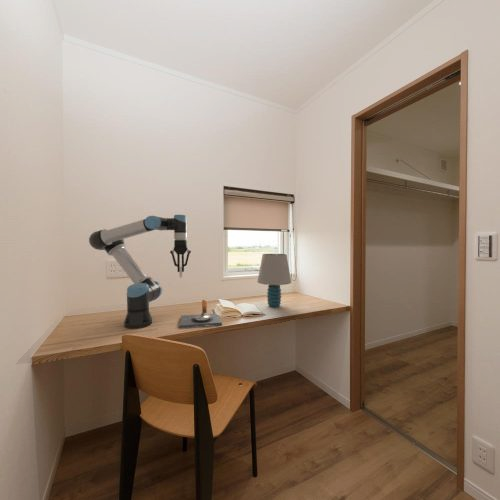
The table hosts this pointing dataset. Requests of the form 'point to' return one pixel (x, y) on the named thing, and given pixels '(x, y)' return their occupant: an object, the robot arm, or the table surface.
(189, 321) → the panel
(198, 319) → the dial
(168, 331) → the table surface
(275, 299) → the lamp
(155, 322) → the table surface
